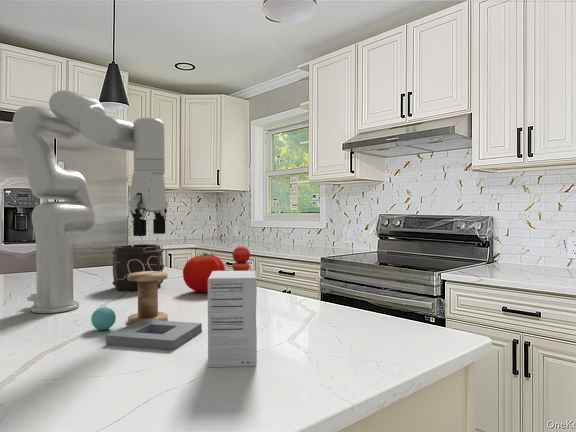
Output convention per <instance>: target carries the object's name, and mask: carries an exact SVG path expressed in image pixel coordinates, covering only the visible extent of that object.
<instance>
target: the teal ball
mask: <svg viewBox="0 0 576 432" xmlns="http://www.w3.org/2000/svg"><path fill="white" fill-rule="evenodd" d="M116 318H117V316H116V314H115V311H114V310H113V309H112V308H110V307H109V306H108V307H107V306H102V307H101V306H100V307H99V308H97V309H95V311H93V313H92V315H91V319H90V320H91V324H92V326H93V327H94V329H96V330H99V331H107V330H109V329H110V328H111V327H113V326H114V324H115V323H116Z"/></svg>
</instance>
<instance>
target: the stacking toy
mask: <svg viewBox="0 0 576 432" xmlns="http://www.w3.org/2000/svg"><path fill="white" fill-rule="evenodd" d="M250 257H251V252H250V250H249V248H248V247H246V246H243V245H239V246H236V247H235V248H234V249H233V250H232V259H233V260H234V262H233V263H232V264H231V265H232V269H233V270H232V271H250V267H251V265H250V263H248V261H249V260H250Z"/></svg>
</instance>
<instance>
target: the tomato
mask: <svg viewBox="0 0 576 432" xmlns="http://www.w3.org/2000/svg"><path fill="white" fill-rule="evenodd" d="M215 254H217V252H216V253H210V254H209V253H207V252H202V254H201V255H200V254H199V255H195V256H192V257H191V258H190V259H189V260H187V261H186V263H185V264H184V266H183V269H182V278H183V281H184V283H185V285H186V286H187V287H188V288H189V289H191V290H192V291H195V292H199V293H208V278H209V277H210V275H211V273H212V271H226V267H225V264H224V262H223V260H221V257H219V256H217V255H215Z"/></svg>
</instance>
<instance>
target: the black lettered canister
mask: <svg viewBox="0 0 576 432" xmlns="http://www.w3.org/2000/svg"><path fill="white" fill-rule="evenodd" d="M163 252H164V250H163V249H162V248H161V245H159V244H151V243H150V244H148V243H142V244H141V243H139V244H132V245H131V244H124V245H117V246H115V247H114V250H112V252H111V254H112V255H113V258H112V278H113V281H112V286H114V287H115V290H116V289H117V291H118V292H124V291H126V293H127V292H128V293H134V292H135V291H138V282H136V281H129V280H128V274H130V273H135V272H144V271H162V272H164V268H165V265H164V261H163ZM163 282H164V280H158V289H159V288H161V285H162V284H163Z"/></svg>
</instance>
